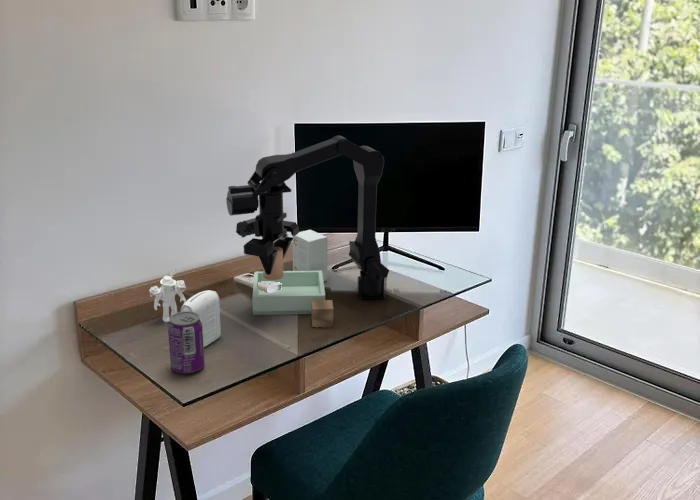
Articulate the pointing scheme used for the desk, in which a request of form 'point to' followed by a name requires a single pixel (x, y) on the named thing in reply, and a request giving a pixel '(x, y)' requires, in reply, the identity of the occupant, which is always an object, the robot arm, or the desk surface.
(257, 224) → the robot arm
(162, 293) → the flower shoulder figurine
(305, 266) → the small box
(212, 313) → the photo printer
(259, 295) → the tote
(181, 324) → the beverage can
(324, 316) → the walnut block
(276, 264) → the terracotta cylinder
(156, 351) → the desk surface
